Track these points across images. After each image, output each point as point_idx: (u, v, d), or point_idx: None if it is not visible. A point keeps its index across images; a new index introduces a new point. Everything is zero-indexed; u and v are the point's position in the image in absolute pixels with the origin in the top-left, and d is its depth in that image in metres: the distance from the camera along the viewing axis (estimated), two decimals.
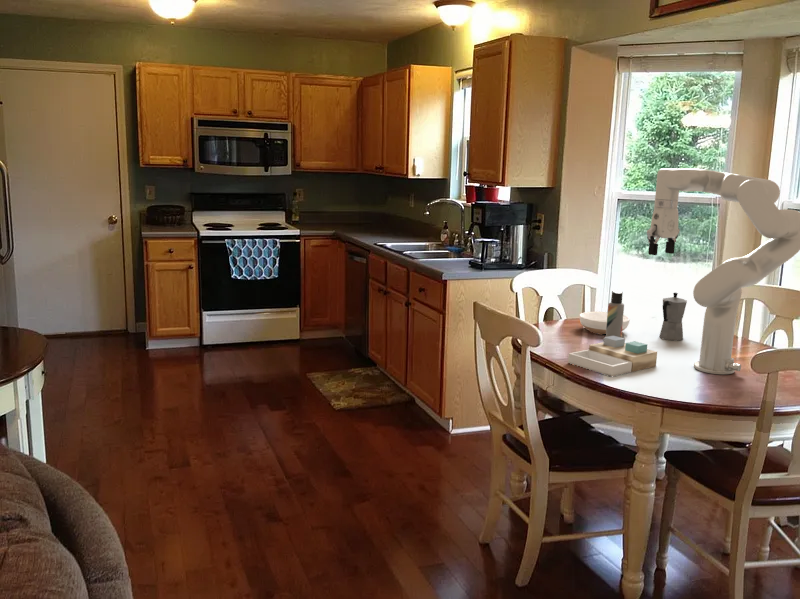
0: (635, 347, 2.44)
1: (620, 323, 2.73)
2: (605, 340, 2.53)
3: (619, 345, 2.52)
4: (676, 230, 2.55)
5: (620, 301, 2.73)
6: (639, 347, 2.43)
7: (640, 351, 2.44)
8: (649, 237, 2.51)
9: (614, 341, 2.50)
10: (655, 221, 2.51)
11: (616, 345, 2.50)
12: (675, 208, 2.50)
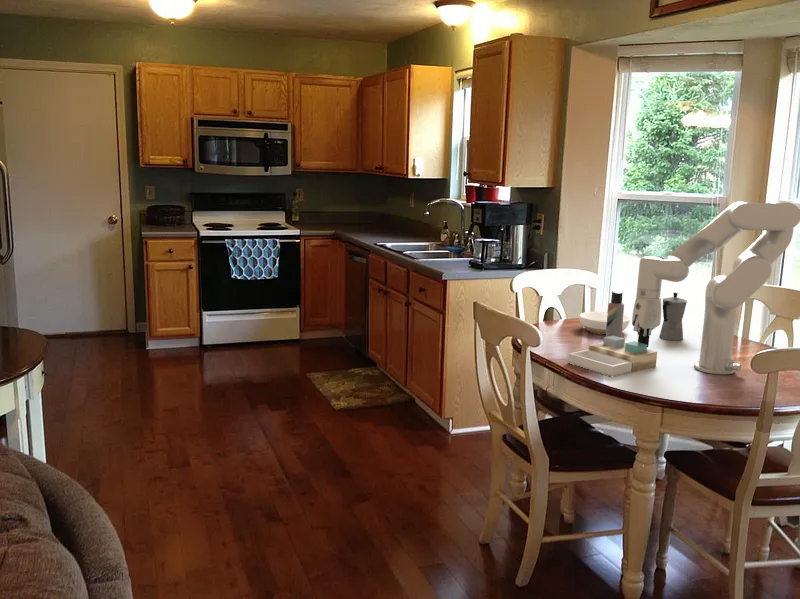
0: (635, 347, 2.44)
1: (620, 323, 2.73)
2: (605, 340, 2.53)
3: (619, 345, 2.52)
4: (659, 319, 2.47)
5: (620, 301, 2.73)
6: (639, 347, 2.43)
7: (640, 351, 2.44)
8: None
9: (614, 341, 2.50)
10: (637, 311, 2.44)
11: (616, 345, 2.50)
12: (657, 298, 2.43)
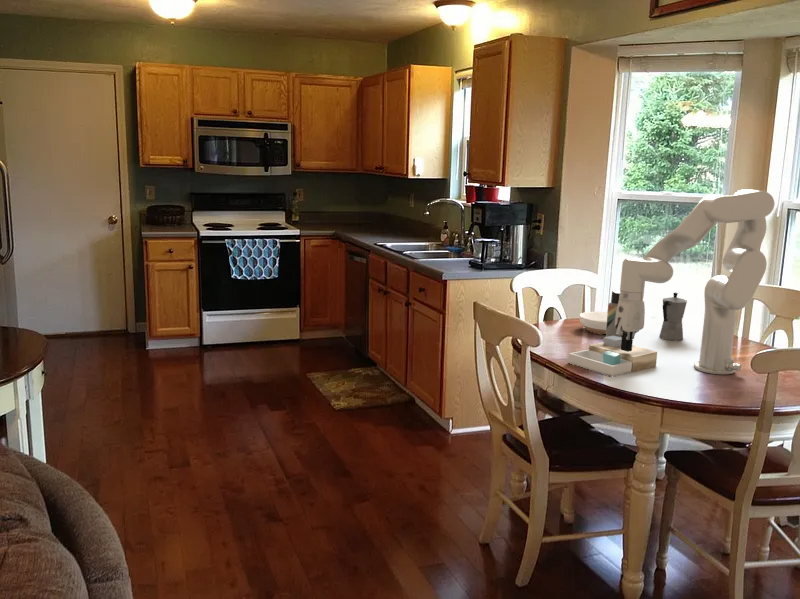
0: None
1: None
2: (605, 340, 2.53)
3: (619, 345, 2.52)
4: (642, 322, 2.42)
5: None
6: None
7: None
8: None
9: (614, 341, 2.50)
10: (620, 314, 2.38)
11: (616, 345, 2.50)
12: (641, 301, 2.37)
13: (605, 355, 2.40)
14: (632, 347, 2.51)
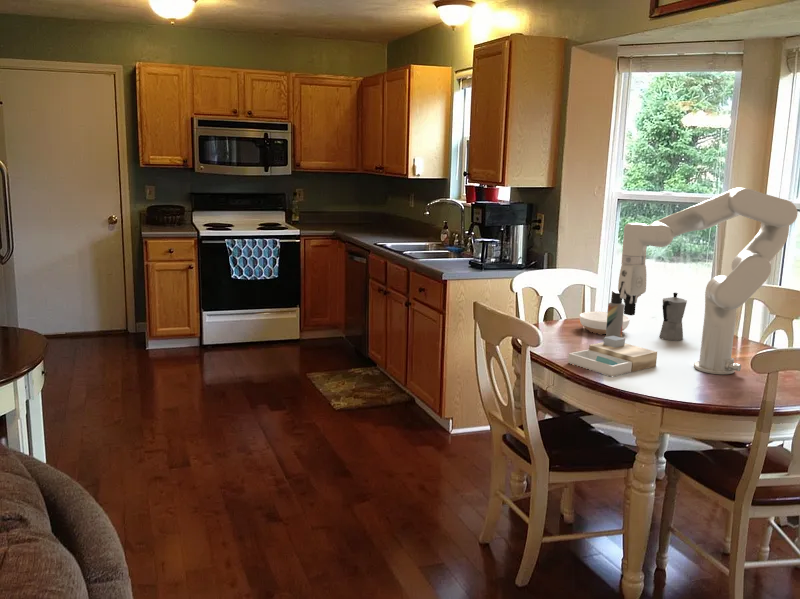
0: None
1: (620, 323, 2.73)
2: (605, 340, 2.53)
3: (619, 345, 2.52)
4: (644, 286, 2.45)
5: (620, 301, 2.73)
6: None
7: (615, 363, 2.38)
8: None
9: (614, 341, 2.50)
10: (623, 278, 2.41)
11: (616, 345, 2.50)
12: (643, 264, 2.41)
13: None
14: (632, 347, 2.51)
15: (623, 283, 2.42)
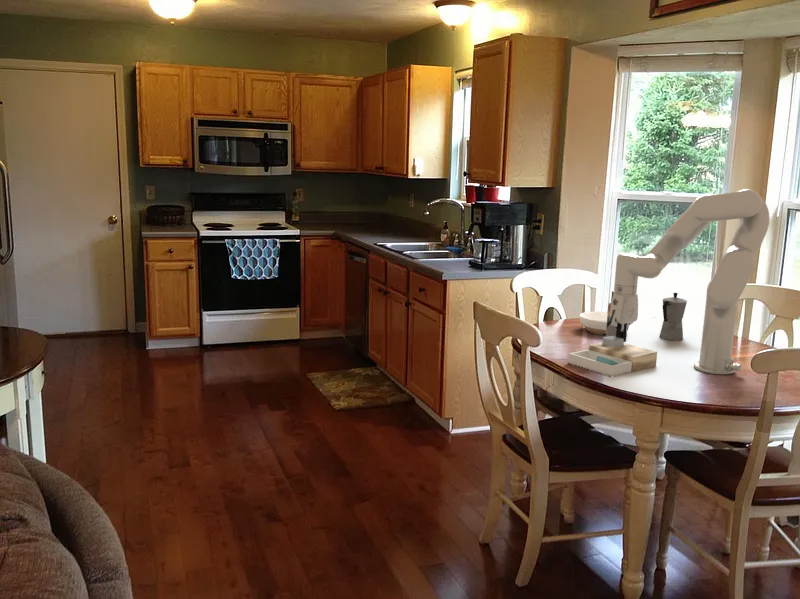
0: None
1: None
2: (604, 340, 2.53)
3: (618, 345, 2.51)
4: (636, 314, 2.54)
5: None
6: None
7: (615, 363, 2.38)
8: None
9: (613, 341, 2.50)
10: (614, 307, 2.50)
11: (615, 345, 2.50)
12: (634, 294, 2.50)
13: None
14: (632, 347, 2.51)
15: (614, 311, 2.52)
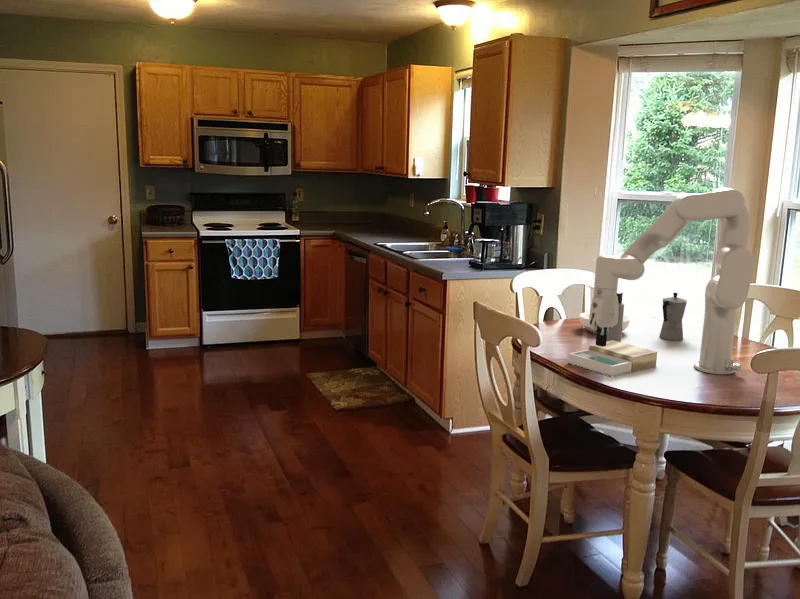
0: None
1: (620, 323, 2.73)
2: None
3: (590, 358, 2.44)
4: (616, 318, 2.48)
5: (620, 301, 2.73)
6: None
7: (615, 363, 2.38)
8: None
9: None
10: (594, 310, 2.44)
11: (594, 358, 2.46)
12: (614, 297, 2.43)
13: None
14: (632, 347, 2.51)
15: (594, 315, 2.45)
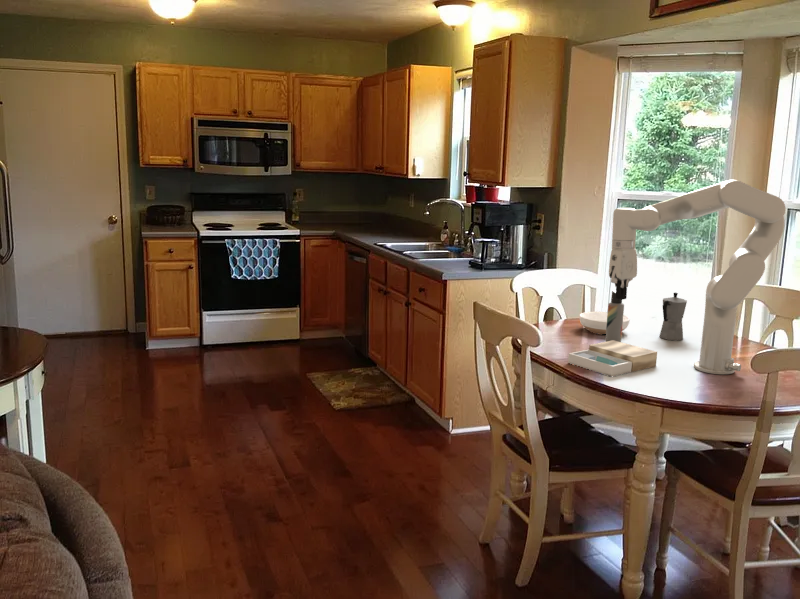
0: None
1: (620, 323, 2.73)
2: None
3: (590, 358, 2.44)
4: (635, 270, 2.48)
5: (620, 301, 2.73)
6: None
7: (615, 363, 2.38)
8: None
9: None
10: (613, 263, 2.45)
11: (594, 358, 2.46)
12: (633, 248, 2.44)
13: None
14: (632, 347, 2.51)
15: (613, 267, 2.46)
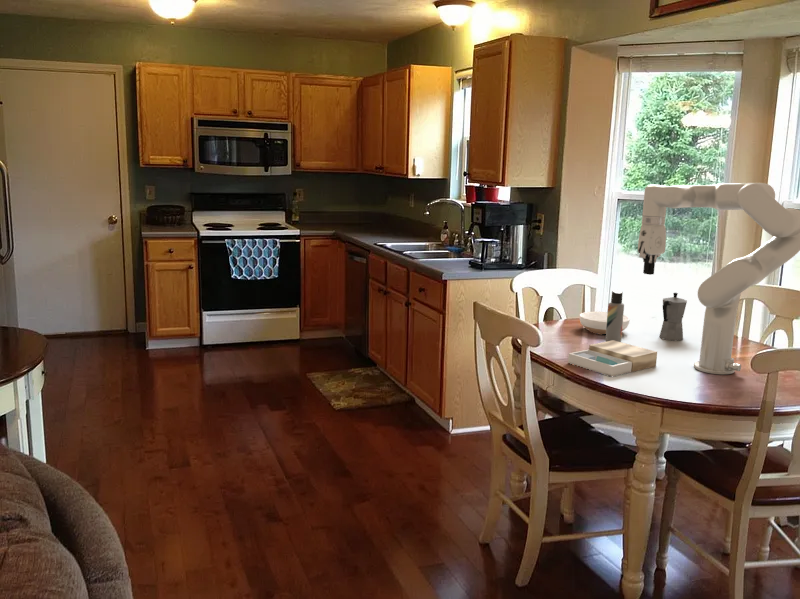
0: None
1: (620, 323, 2.73)
2: None
3: (590, 358, 2.44)
4: (664, 246, 2.54)
5: (620, 301, 2.73)
6: None
7: (615, 363, 2.38)
8: None
9: None
10: (643, 238, 2.51)
11: (594, 358, 2.46)
12: (662, 225, 2.50)
13: None
14: (632, 347, 2.51)
15: (643, 243, 2.52)
